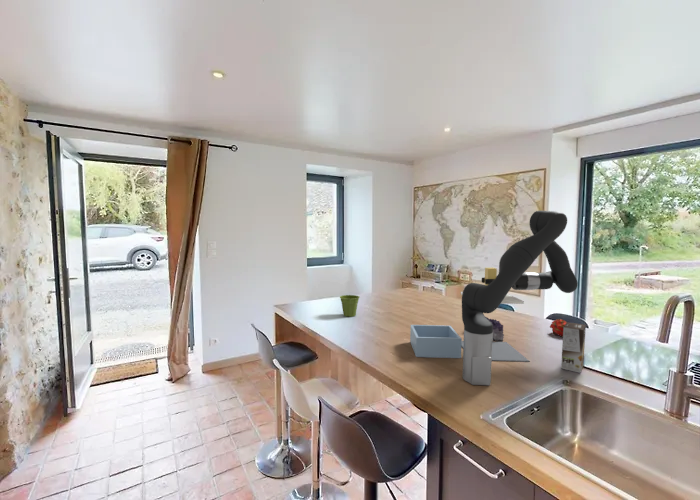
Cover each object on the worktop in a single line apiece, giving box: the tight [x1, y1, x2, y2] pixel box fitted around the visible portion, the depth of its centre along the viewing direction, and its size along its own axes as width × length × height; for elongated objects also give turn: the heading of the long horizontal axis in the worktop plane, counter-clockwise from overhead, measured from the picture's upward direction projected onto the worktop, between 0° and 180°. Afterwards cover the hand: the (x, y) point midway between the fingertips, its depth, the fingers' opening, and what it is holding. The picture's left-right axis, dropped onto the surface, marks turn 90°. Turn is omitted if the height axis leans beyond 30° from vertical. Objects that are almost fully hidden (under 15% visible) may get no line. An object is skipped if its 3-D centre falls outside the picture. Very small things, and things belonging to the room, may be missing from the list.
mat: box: [461, 340, 530, 363], centre depth 144 cm, size 22×22×1 cm
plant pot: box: [339, 294, 361, 318], centre depth 199 cm, size 12×12×11 cm
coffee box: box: [560, 321, 587, 373], centre depth 127 cm, size 9×6×16 cm
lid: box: [460, 267, 525, 305], centre depth 143 cm, size 19×19×13 cm
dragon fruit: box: [549, 318, 568, 338], centre depth 166 cm, size 8×8×12 cm
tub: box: [409, 324, 463, 359], centre depth 145 cm, size 18×18×8 cm
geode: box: [485, 316, 505, 342], centre depth 166 cm, size 20×12×10 cm, turn 22°
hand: (483, 280), depth 143 cm, fingers closed on lid, 3 cm apart
